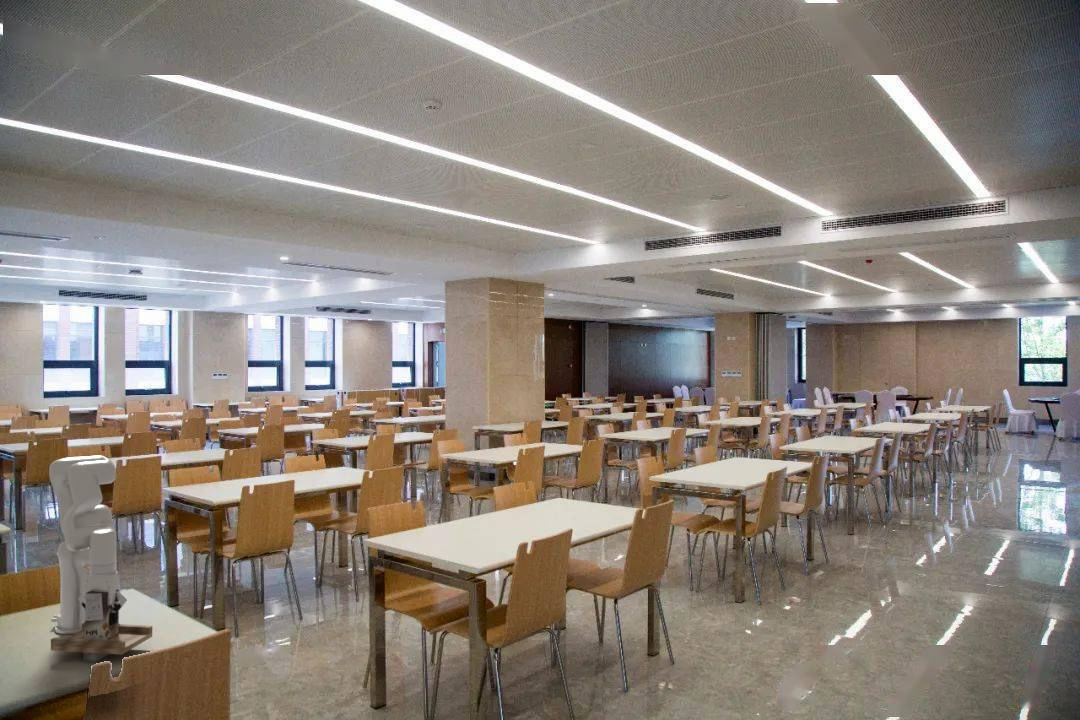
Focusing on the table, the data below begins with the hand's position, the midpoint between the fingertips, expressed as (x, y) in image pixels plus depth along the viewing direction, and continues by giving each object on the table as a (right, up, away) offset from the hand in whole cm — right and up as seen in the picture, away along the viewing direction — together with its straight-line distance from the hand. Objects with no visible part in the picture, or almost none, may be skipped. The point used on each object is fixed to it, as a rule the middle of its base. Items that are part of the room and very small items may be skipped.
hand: (102, 623), depth 240 cm
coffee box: (0, -5, 0) cm, 5 cm away
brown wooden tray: (0, -10, 0) cm, 10 cm away
